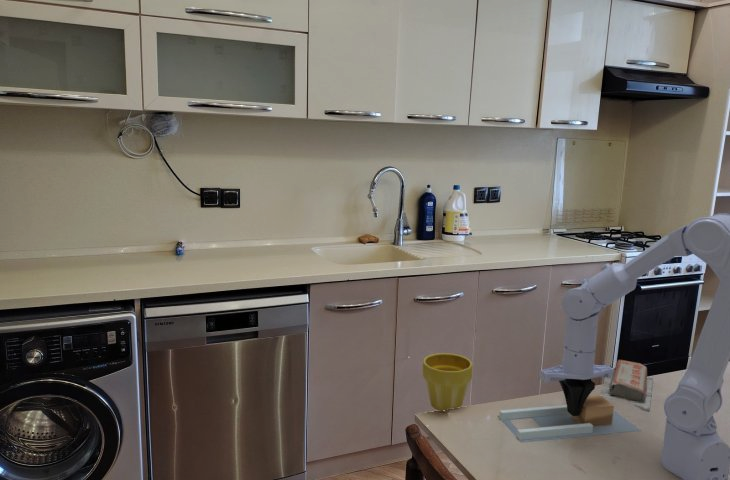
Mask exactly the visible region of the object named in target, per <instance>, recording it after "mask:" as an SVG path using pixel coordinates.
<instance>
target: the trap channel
mask: <svg viewBox="0 0 730 480" xmlns="http://www.w3.org/2000/svg"><path fill="white" fill-rule="evenodd" d="M497 417H498V418H499V419H500V421H501V422H502V423H503V424H504V425H505V426H506V427H507V428H508V429H509V430H510V431H511V433H512V434H513V435H514V436H515V437H516V438H517V439H518V440H519V442H520V443H531V442H538V441H539V442H540V441H549V440H561V439H569V438H578V437H579V438H581V437H591V436H592V437H593V436H603V435H612V434H622V433H631V432H632V433H633V432H641V431H642V429H640V428H638V427H637V426H636V425H635V424H634V423H631V422H630V421H629V420H628V419H626V417H623V416H622V415H621V414H620V413H618V412H617V411H615V410H614V409H613V419H612V425H602V426H593V425H592V424H591V423H585V424H580V423H579V422H578V421H577V420H575V419H574V418H573V417H572V416H571V414H570V413H569V412H568V411H567V404H562V405H550V406H549V405H548V406H537V407H527V408H525V407H524V408H515V409H504V410H503V409H500V410H499V415H497ZM528 418H529V419H530V418H531V419H532V420H533V421H535V423H537V425H538V426H539V427H533V428H524V429H523V428H522V429H521V428H520V429H518V428H517V427H516V426H515V425H514V423H512V421H511V420H517V419H519V420H522V419H528Z"/></svg>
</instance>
